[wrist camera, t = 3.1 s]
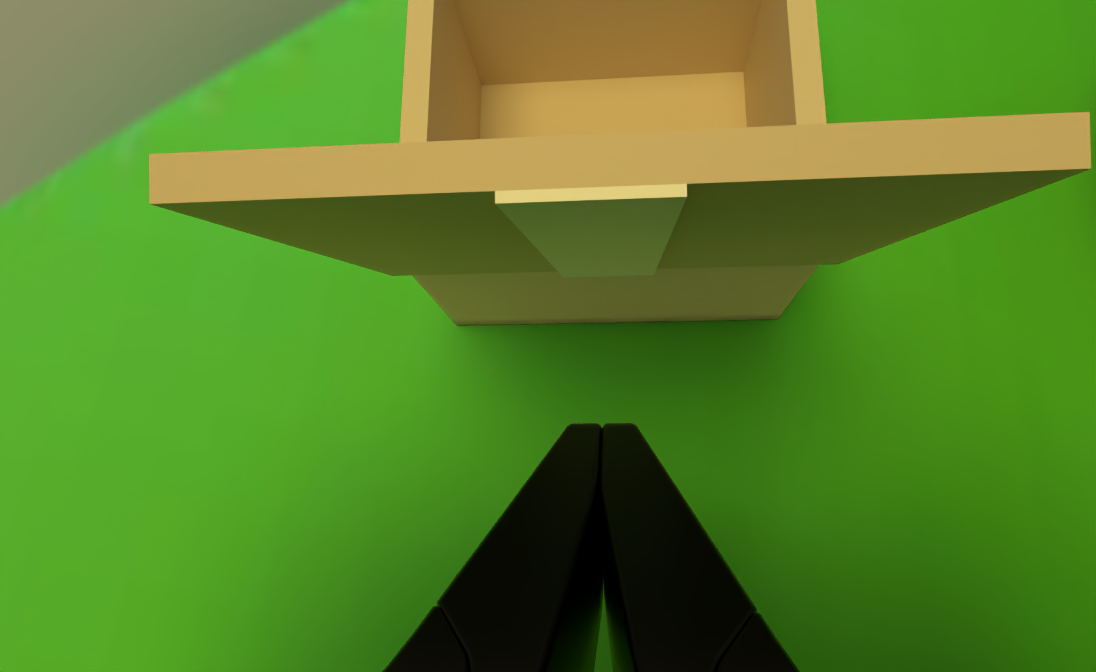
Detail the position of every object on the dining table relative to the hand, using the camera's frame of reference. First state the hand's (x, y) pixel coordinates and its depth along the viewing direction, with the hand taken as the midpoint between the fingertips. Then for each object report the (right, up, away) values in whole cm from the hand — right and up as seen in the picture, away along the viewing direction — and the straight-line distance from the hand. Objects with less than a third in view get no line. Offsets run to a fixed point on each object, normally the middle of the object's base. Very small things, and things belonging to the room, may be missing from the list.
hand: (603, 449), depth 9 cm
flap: (0, +3, +1) cm, 4 cm away
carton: (+1, +6, +12) cm, 14 cm away
